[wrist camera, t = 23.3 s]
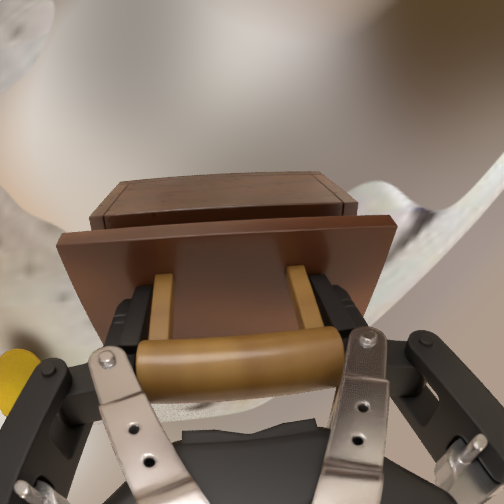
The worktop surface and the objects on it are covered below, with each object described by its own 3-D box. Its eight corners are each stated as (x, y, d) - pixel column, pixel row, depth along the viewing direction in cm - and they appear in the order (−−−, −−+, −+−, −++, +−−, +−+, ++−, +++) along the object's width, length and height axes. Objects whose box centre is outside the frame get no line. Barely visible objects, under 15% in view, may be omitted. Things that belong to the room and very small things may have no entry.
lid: (61, 232, 11) (9, 360, 7) (389, 214, 12) (462, 325, 8) (138, 391, 20) (136, 470, 15) (328, 376, 21) (348, 451, 17)
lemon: (53, 341, 25) (25, 408, 18) (58, 378, 27) (37, 440, 20) (5, 325, 23) (-29, 385, 16) (14, 362, 26) (-12, 419, 19)
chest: (120, 181, 19) (88, 217, 14) (319, 171, 21) (358, 202, 15) (149, 332, 25) (139, 391, 20) (305, 321, 27) (327, 376, 21)
